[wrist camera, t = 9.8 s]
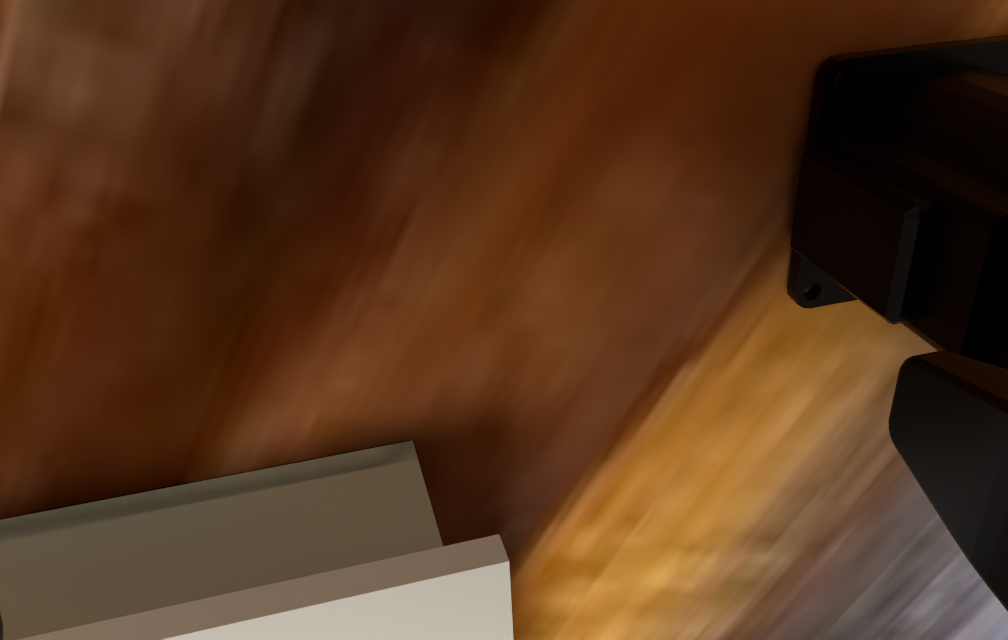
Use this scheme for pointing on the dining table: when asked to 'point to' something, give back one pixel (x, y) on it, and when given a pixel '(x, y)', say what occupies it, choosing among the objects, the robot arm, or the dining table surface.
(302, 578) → the lid
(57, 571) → the pale green open box
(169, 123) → the dining table surface
